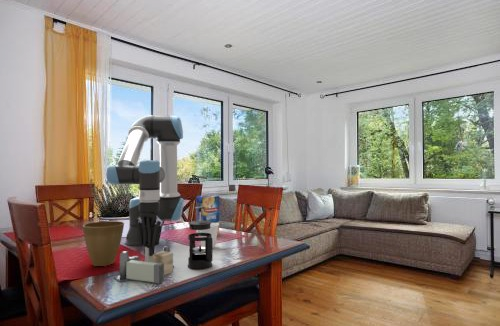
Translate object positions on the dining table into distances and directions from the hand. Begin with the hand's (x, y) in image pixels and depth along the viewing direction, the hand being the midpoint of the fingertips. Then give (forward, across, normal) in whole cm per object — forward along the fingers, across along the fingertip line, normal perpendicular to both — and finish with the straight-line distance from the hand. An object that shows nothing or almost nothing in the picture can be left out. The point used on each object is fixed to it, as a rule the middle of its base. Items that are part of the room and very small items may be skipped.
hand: (149, 263), depth 117 cm
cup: (+2, 0, +37) cm, 37 cm away
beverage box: (+2, -16, +58) cm, 61 cm away
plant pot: (+2, -21, -4) cm, 21 cm away
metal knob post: (+2, 0, -9) cm, 10 cm away
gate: (+2, +8, -10) cm, 13 cm away
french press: (+2, +15, +12) cm, 19 cm away
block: (+2, +7, 0) cm, 7 cm away
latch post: (+2, +4, +5) cm, 7 cm away
